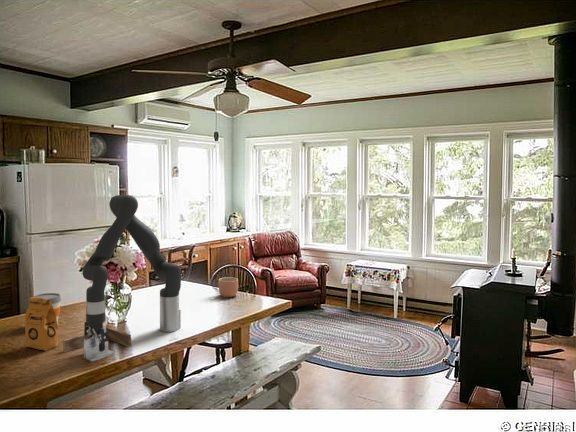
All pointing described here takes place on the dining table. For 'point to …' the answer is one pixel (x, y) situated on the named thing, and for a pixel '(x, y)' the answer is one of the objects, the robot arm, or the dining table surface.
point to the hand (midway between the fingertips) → (96, 348)
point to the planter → (228, 286)
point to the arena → (79, 340)
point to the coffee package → (41, 325)
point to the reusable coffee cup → (52, 301)
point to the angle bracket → (95, 349)
